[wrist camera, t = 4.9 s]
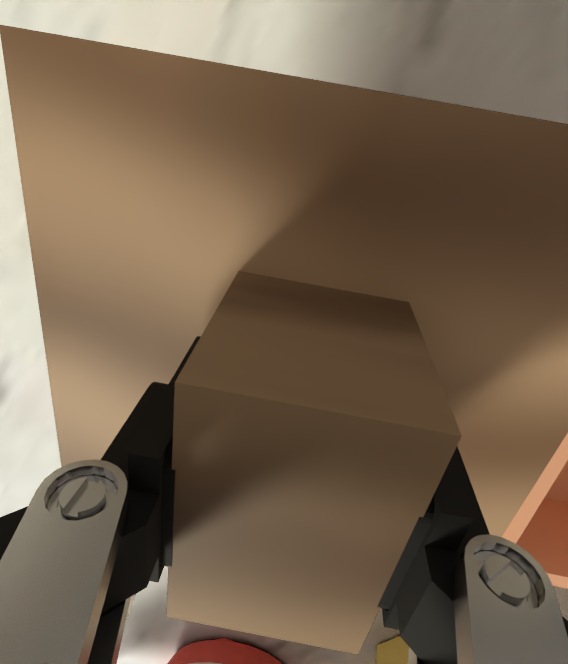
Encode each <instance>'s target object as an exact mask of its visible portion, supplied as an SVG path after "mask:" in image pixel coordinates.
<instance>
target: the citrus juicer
mask: <svg viewBox="0 0 568 664" xmlns="http://www.w3.org/2000/svg"><path fill="white" fill-rule="evenodd" d="M168 664H282V663H281V662H280V661H279V660H277V659H276V658H274V657H273V656H271V655H270V654H268V653H266V652H264V651H261V650H259V649H257V648H254V647H251V646H248V645H245V644H241V643H237V642H233V641H231V640H229V639H226V638H218V639H215V640H207V641H200V642H195V643H192V644H189V645H186V646H185V647H183V648H181V649H180V650H179V651H178V652H177V653H175V655H174V656H173V657H172V659H171V660H170V661H169V663H168Z"/></svg>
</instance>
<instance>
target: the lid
mask: <svg viewBox="0 0 568 664" xmlns="http://www.w3.org/2000/svg"><path fill="white" fill-rule="evenodd" d="M0 34H1V41H2V48H3V55H4V62H5V69H6V77H7V84H8V91H9V98H10V105H11V112H12V119H13V126H14V133H15V140H16V147H17V154H18V161H19V168H20V176H21V183H22V190H23V197H24V204H25V211H26V218H27V225H28V232H29V239H30V246H31V253H32V260H33V267H34V275H35V282H36V289H37V296H38V303H39V310H40V317H41V324H42V331H43V338H44V345H45V352H46V359H47V366H48V374H49V381H50V388H51V395H52V402H53V409H54V416H55V423H56V430H57V437H58V444H59V451H60V458H61V466H62V467H63V466H65V465H67V464H70V463H73V462H77V461H80V460H91V459H97V460H101V458H102V457H103V455H104V453H105V452H106V450H107V449H108V447H109V446H110V444H111V443H112V441H113V440H114V438H115V437H116V435H117V434H118V432H119V431H120V429H121V428H122V426H123V425H124V423H125V422H126V420H127V419H128V417H129V416H130V414H131V412H132V411H133V409H134V408H135V406H136V405H137V403H138V402H139V400H140V399H141V397H142V396H143V394H144V393H145V391H146V390H147V388H148V387H149V385H150V384H151V383H152V382H159V383H165V384H169V382H170V381H171V379H172V377H173V376H174V374H175V372H176V371H177V369H178V367H179V366H180V364H181V362H182V360H183V359H184V357H185V355H186V354H187V352H188V350H189V349H190V347H191V345H192V344H193V342H194V340H195V338H196V337H197V336H200V339H199V341H198V342H197V344H196V346H195V348H194V349H193V351H192V353H191V355H190V356H189V358H188V360H187V362H186V363H185V365H184V367H183V369H182V370H181V372H180V374H179V376H178V377H177V379H176V381H175V390H174V419H173V447H172V469H173V470H176V472H175V496H174V521H173V545H172V567H170V566H168V591H167V617H169V618H174V619H179V620H184V621H189V622H194V623H199V624H204V625H209V626H215V627H220V628H225V629H230V630H235V631H240V632H245V633H250V634H255V635H260V636H265V637H270V638H275V639H281V640H286V641H291V642H296V643H301V644H306V645H311V646H316V647H321V648H326V649H331V650H336V651H341V652H347V653H352V654H357V655H358V653H359V651H360V649H361V647H362V645H363V643H364V641H365V639H366V637H367V634H368V632H369V630H370V628H371V626H372V624H373V622H374V620H375V618H376V615H377V613H378V611H379V609H380V607H377V606H378V604H379V602H380V600H381V597H382V595H383V593H384V591H385V589H386V587H387V585H388V583H389V580H390V578H391V576H392V574H393V572H394V570H395V568H396V565H397V563H398V561H399V559H400V557H401V555H402V553H403V550H404V548H405V546H406V544H407V542H408V540H409V538H410V535H411V533H412V531H413V529H414V527H415V525H416V523H417V521H418V518H419V517H423V516H424V514H425V512H426V510H427V508H428V506H429V504H430V502H431V500H432V498H433V495H434V493H435V491H436V489H437V487H438V485H439V483H440V481H441V479H442V476H443V474H444V472H445V470H446V468H447V466H448V464H449V462H450V460H451V458H452V455H453V453H454V451H455V449H456V447H457V446H458V449H459V452H460V455H461V457H462V460H463V463H464V465H465V468H466V471H467V474H468V476H469V479H470V482H471V484H472V487H473V490H474V493H475V495H476V498H477V501H478V503H479V506H480V509H481V512H482V514H483V517H484V520H485V523H486V525H487V528H488V531H489V533H490V535H495V536H499V537H502V536H503V534H504V533H505V531H506V529H507V528H508V526H509V525H510V523H511V521H512V520H513V518H514V517H515V515H516V514H517V512H518V510H519V509H520V507H521V506H522V504H523V503H524V501H525V499H526V498H527V496H528V495H529V493H530V491H531V490H532V488H533V487H534V485H535V484H536V482H537V480H538V479H539V477H540V476H541V474H542V473H543V471H544V469H545V468H546V466H547V465H548V463H549V461H550V460H551V458H552V457H553V455H554V454H555V452H556V450H557V449H558V447H559V446H560V444H561V443H562V441H563V439H564V438H565V436H566V435H567V433H568V124H564V123H558V122H552V121H547V120H541V119H535V118H530V117H524V116H518V115H512V114H507V113H501V112H495V111H490V110H484V109H478V108H472V107H467V106H461V105H455V104H450V103H444V102H438V101H432V100H427V99H421V98H415V97H410V96H404V95H398V94H393V93H387V92H381V91H375V90H370V89H364V88H358V87H353V86H347V85H341V84H335V83H330V82H324V81H318V80H313V79H307V78H301V77H296V76H290V75H284V74H278V73H273V72H267V71H261V70H256V69H250V68H244V67H238V66H233V65H227V64H221V63H216V62H210V61H204V60H198V59H193V58H187V57H181V56H176V55H170V54H164V53H159V52H153V51H147V50H141V49H136V48H130V47H124V46H119V45H113V44H107V43H101V42H96V41H90V40H84V39H79V38H73V37H67V36H62V35H56V34H50V33H44V32H39V31H33V30H27V29H22V28H16V27H10V26H4V25H0Z"/></svg>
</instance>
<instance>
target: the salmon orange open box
mask: <svg viewBox="0 0 568 664" xmlns="http://www.w3.org/2000/svg"><path fill="white" fill-rule="evenodd" d="M502 537H503V538H505V539H507V540H509V541H511V542H514V543H515V544H517V545H518V546H520V547H521V548H523V549H524V550H526V551H527V552H528V553H529V554H530V555H531V556H532V557H533V558H534V559H535V560H536V561H537V562H538V563H539V564H540V565H541V566H542V568H543V569H544V570H545V572H546V573H547V575H548V576H549V578H550V581H551V583H552V585H553V586H557V587H561V588H566V589H568V433H567V435H566V436H565V438H564V439H563V441H562V443H561V444H560V446H559V447H558V449H557V450H556V452H555V454H554V455H553V457H552V458H551V460H550V461H549V463H548V465H547V466H546V468H545V469H544V471H543V473H542V474H541V476H540V477H539V479H538V480H537V482H536V484H535V485H534V487H533V488H532V490H531V491H530V493H529V495H528V496H527V498H526V499H525V501H524V503H523V504H522V506H521V507H520V509H519V510H518V512H517V514H516V515H515V517H514V518H513V520H512V521H511V523H510V525H509V526H508V528H507V529H506V531H505V533H504V534H503V536H502Z"/></svg>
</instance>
